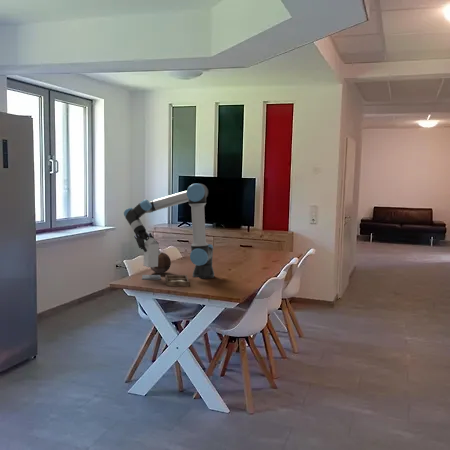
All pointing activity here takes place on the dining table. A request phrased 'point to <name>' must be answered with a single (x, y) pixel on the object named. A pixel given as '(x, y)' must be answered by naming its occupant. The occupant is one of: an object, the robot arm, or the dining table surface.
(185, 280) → the walnut rack
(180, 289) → the dining table surface
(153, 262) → the milk carton
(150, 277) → the slate tile
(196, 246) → the robot arm
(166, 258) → the wooden sphere
